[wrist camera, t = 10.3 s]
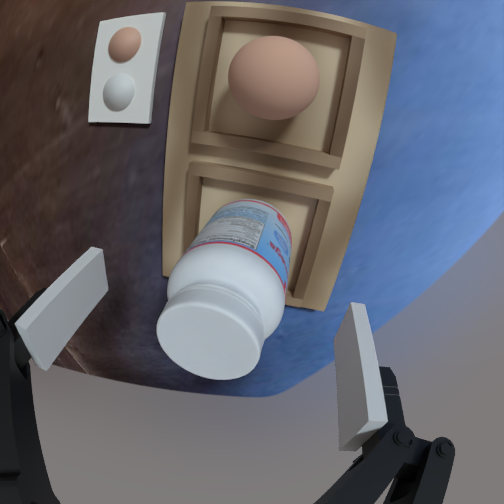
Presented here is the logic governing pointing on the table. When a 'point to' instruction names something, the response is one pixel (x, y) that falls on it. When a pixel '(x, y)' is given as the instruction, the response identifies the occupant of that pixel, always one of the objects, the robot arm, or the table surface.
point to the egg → (273, 77)
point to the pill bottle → (228, 291)
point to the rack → (275, 135)
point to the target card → (125, 69)
